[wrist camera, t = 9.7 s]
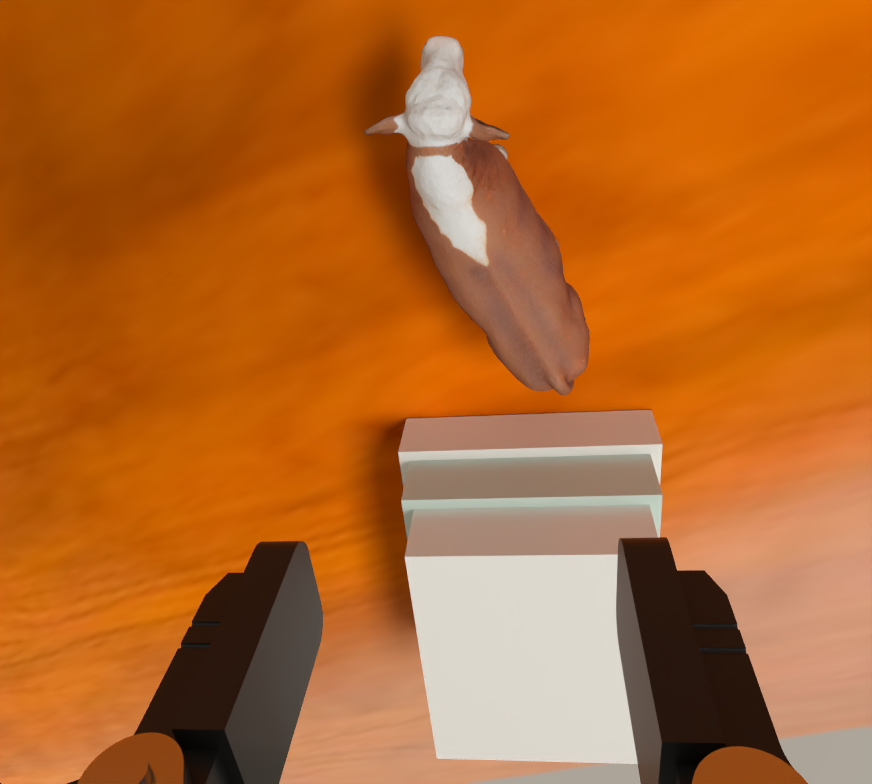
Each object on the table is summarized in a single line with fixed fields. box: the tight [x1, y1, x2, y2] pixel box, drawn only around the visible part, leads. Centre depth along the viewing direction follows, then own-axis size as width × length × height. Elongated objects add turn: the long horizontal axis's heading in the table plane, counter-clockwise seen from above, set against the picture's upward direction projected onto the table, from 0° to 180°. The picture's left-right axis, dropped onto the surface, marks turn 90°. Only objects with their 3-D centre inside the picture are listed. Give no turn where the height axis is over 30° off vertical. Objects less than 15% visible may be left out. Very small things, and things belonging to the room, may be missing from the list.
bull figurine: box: [364, 36, 590, 395], centre depth 27 cm, size 4×13×8 cm, turn 25°
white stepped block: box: [398, 410, 662, 764], centre depth 35 cm, size 15×12×9 cm
